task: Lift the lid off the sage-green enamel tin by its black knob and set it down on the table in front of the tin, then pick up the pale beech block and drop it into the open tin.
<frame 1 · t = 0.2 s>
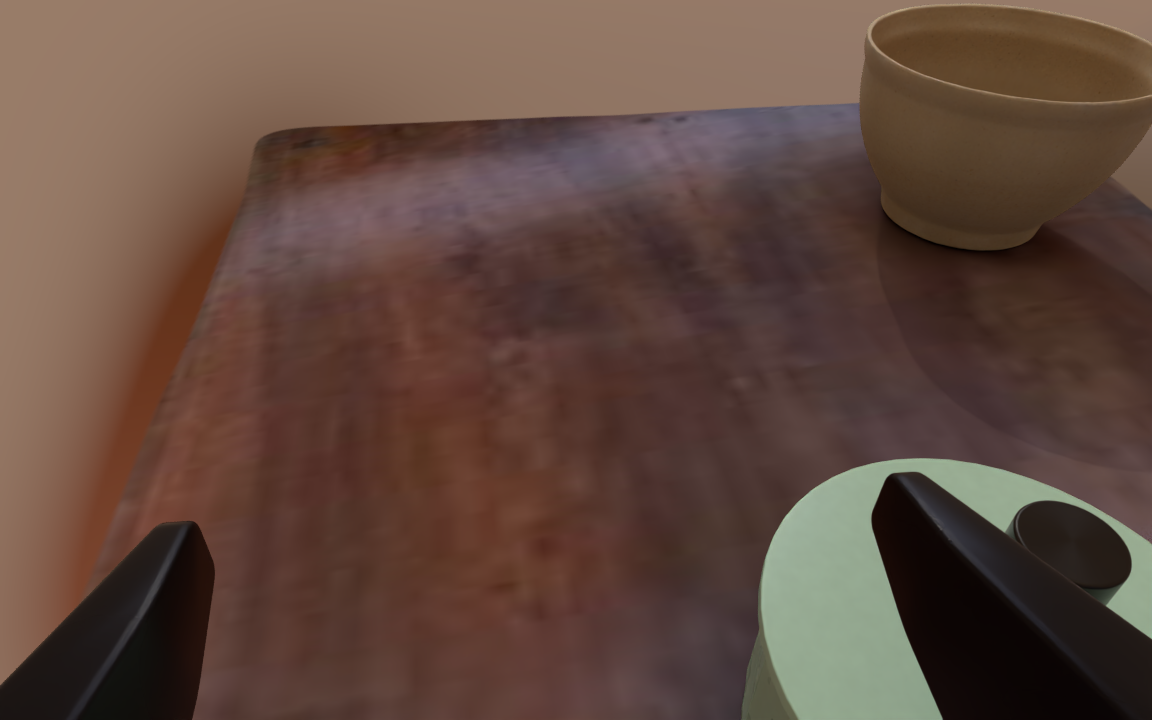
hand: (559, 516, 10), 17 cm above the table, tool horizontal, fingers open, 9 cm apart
lid: (999, 647, 20), point 6 cm above the table, touching tin
planter bowl: (952, 218, 51), on the table
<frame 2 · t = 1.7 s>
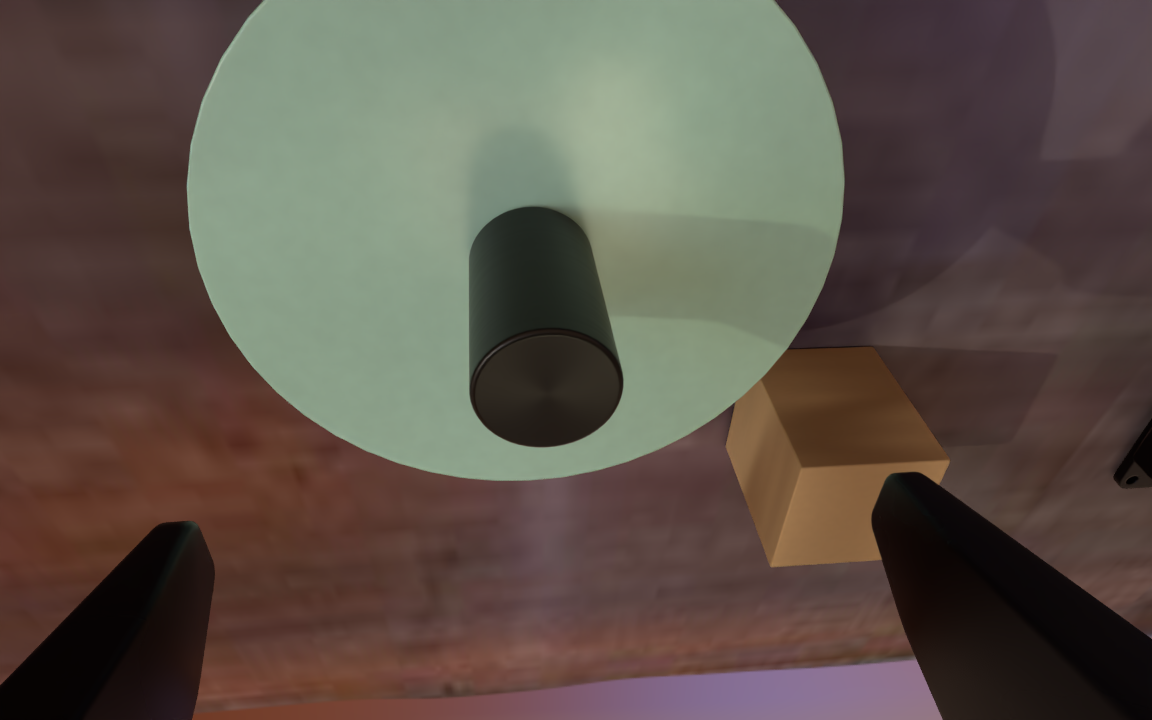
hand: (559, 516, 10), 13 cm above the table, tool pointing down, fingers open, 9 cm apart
block: (796, 398, 28), on the table
lid: (529, 247, 15), point 6 cm above the table, touching tin
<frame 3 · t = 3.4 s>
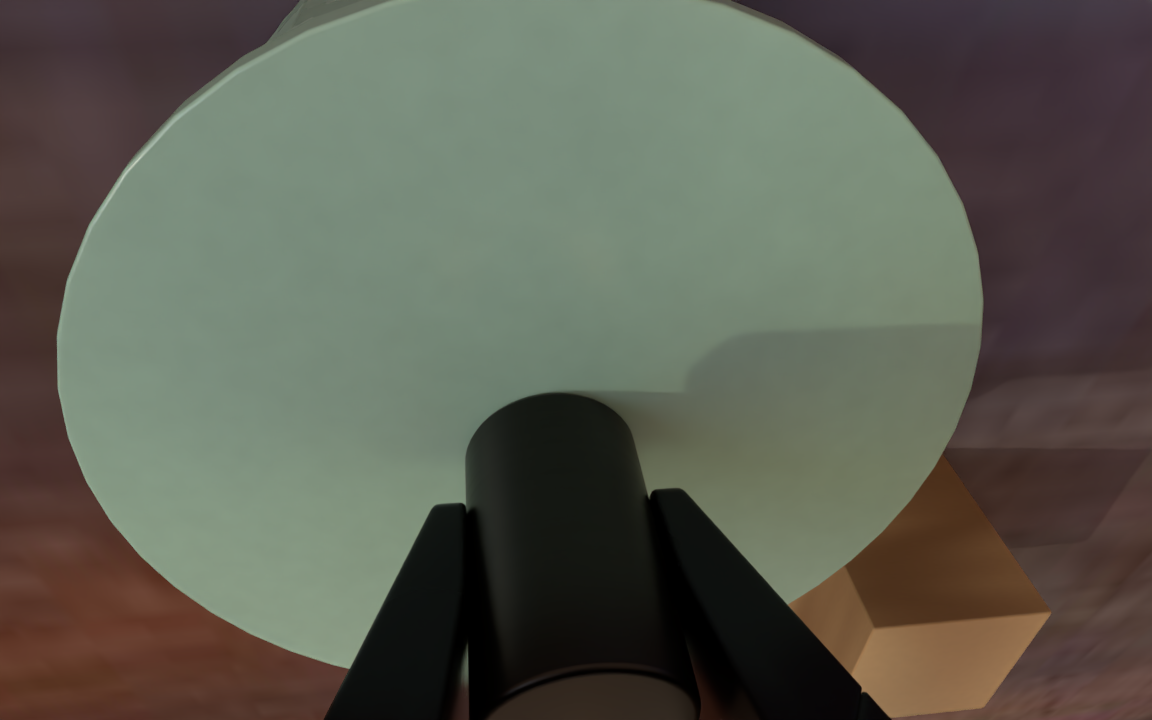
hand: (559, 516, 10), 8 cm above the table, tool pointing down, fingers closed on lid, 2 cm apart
block: (847, 505, 24), on the table
lid: (547, 430, 11), point 6 cm above the table, touching gripper, tin
tin: (518, 221, 16), on the table
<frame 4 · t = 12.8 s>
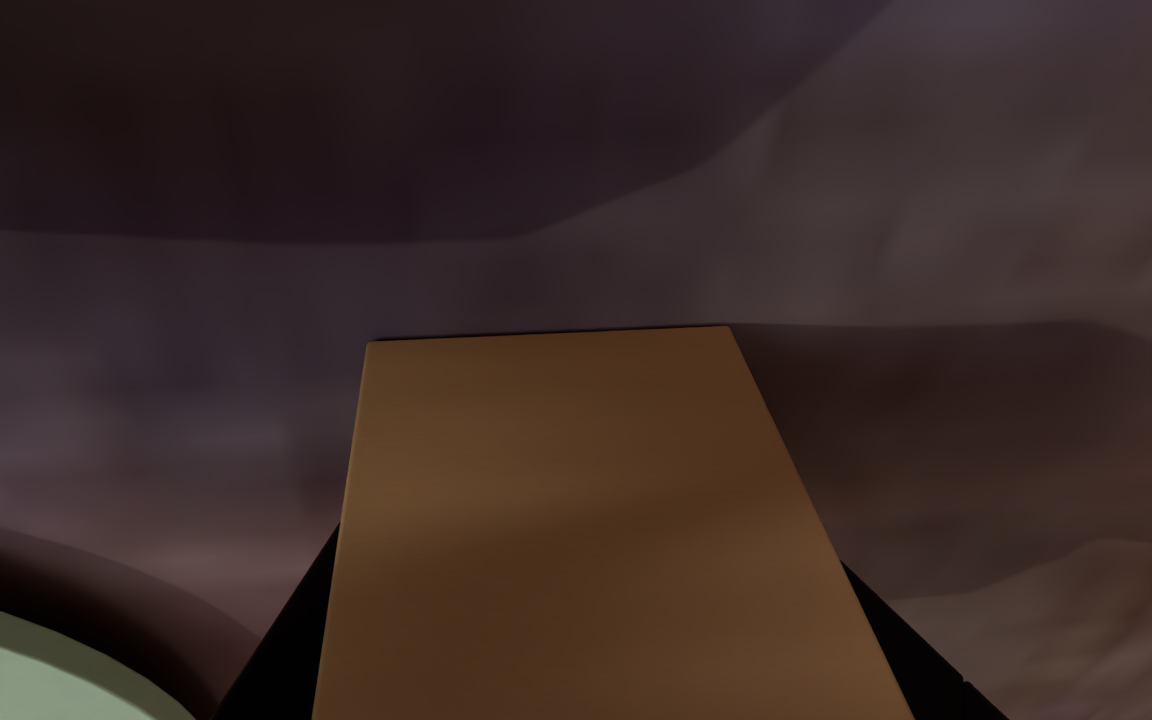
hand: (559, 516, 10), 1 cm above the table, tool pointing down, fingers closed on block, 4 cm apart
block: (550, 460, 11), on the table, touching gripper
when the fingers open (6 cm above the table, at t = 17.2 s): block drops 5 cm, resting on tin.
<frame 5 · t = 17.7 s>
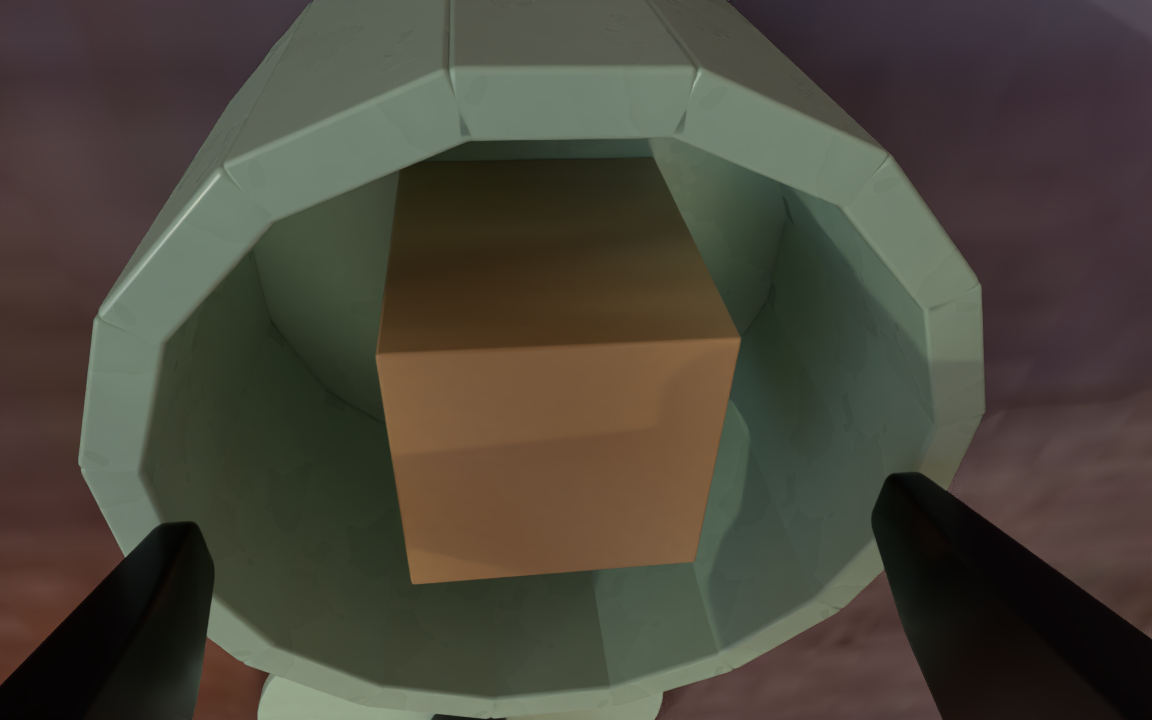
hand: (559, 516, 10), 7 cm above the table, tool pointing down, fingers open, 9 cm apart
block: (530, 268, 15), resting on tin
lid: (468, 705, 24), point 1 cm above the table
tin: (526, 256, 15), on the table
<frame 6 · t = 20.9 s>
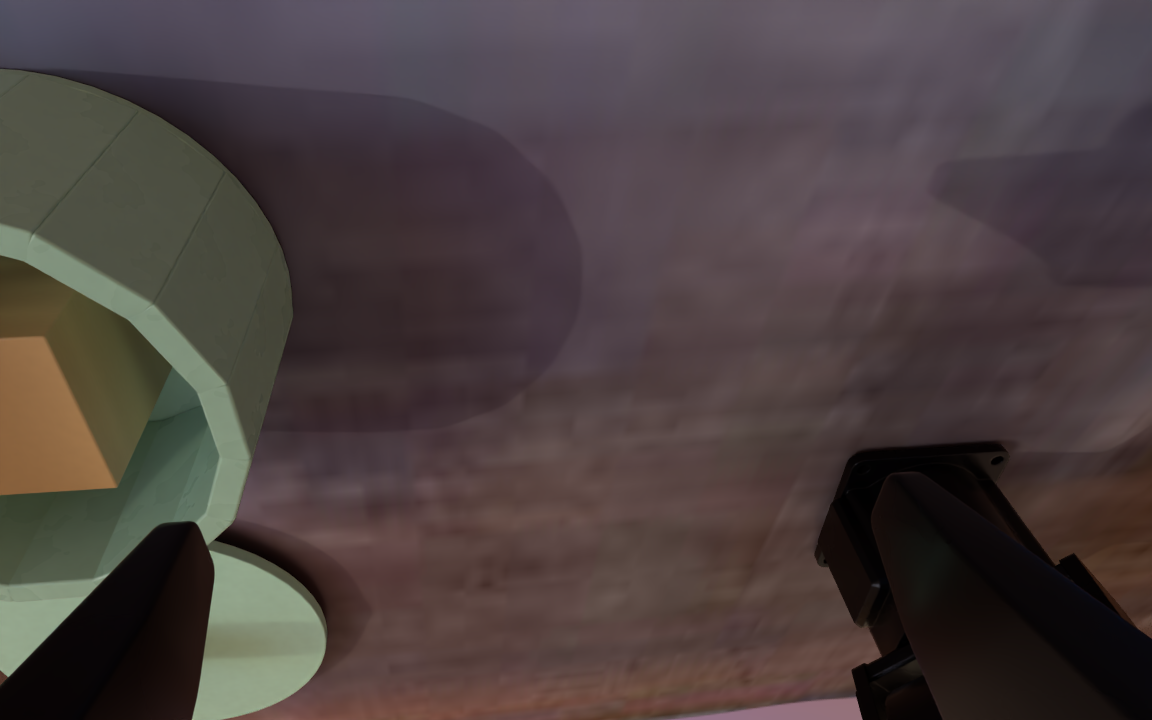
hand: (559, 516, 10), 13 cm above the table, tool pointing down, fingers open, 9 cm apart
block: (71, 286, 21), resting on tin
lid: (163, 632, 30), point 1 cm above the table
tin: (75, 278, 21), on the table
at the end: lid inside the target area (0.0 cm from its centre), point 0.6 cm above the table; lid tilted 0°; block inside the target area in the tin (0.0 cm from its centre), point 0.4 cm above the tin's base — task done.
